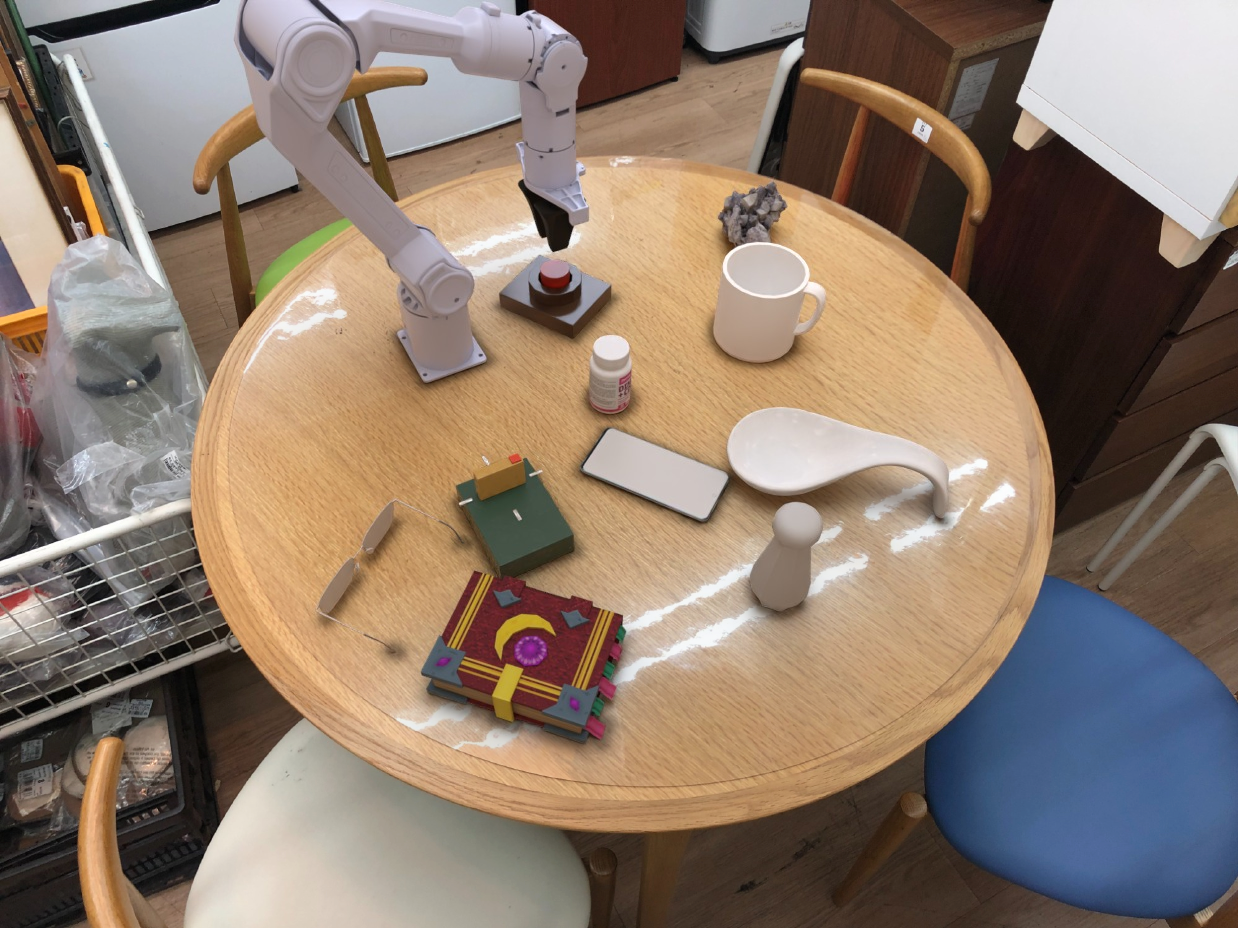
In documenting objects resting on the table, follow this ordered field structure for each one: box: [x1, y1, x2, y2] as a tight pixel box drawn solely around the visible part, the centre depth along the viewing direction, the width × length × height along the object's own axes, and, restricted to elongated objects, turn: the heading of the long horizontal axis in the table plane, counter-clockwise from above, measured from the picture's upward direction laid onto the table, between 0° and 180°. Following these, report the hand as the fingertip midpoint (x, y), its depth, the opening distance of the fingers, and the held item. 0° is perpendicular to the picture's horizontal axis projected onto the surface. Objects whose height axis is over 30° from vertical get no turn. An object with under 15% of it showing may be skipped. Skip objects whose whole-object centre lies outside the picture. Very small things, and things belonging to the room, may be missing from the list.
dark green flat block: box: [455, 455, 575, 579], centre depth 91 cm, size 13×9×3 cm
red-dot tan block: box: [472, 453, 526, 501], centre depth 89 cm, size 5×1×4 cm, turn 118°
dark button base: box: [498, 254, 612, 339], centre depth 111 cm, size 11×9×4 cm
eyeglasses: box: [314, 498, 465, 653], centre depth 86 cm, size 14×8×4 cm, turn 157°
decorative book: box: [420, 569, 627, 745], centre depth 80 cm, size 11×16×5 cm
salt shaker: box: [749, 501, 824, 613], centre depth 82 cm, size 6×6×13 cm
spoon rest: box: [726, 406, 950, 519], centre depth 93 cm, size 24×12×7 cm, turn 77°
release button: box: [540, 258, 570, 289], centre depth 109 cm, size 4×4×2 cm
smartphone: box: [580, 426, 731, 522], centre depth 96 cm, size 7×1×15 cm
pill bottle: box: [588, 334, 633, 415], centre depth 99 cm, size 5×5×8 cm
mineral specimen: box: [717, 180, 788, 248], centre depth 119 cm, size 12×9×10 cm
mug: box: [712, 242, 827, 364], centre depth 106 cm, size 13×10×10 cm
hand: (553, 241), depth 106 cm, fingers closed
